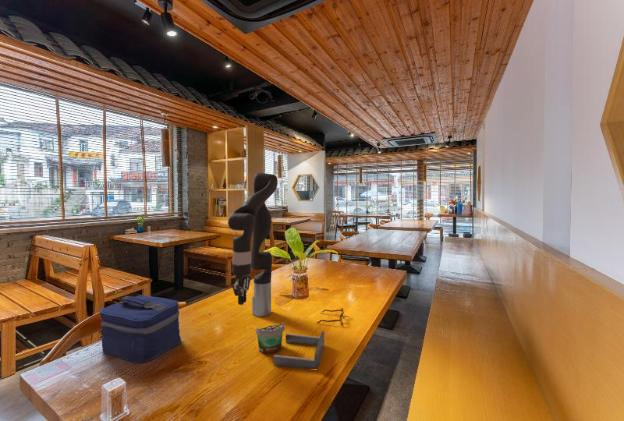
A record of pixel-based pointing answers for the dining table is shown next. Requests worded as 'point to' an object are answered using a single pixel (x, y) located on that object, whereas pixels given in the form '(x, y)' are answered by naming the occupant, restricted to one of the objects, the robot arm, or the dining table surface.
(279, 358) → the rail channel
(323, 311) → the glasses
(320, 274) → the dining table surface
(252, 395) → the dining table surface
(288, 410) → the dining table surface
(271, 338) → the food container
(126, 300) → the lunch bag
